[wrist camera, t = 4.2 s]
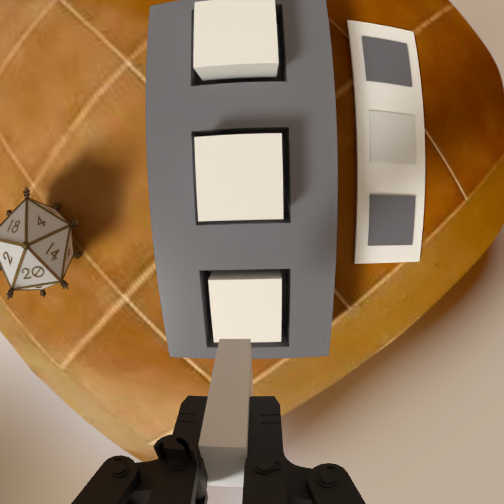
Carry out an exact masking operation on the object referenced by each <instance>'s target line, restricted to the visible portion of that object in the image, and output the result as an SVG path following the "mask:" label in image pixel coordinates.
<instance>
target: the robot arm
mask: <svg viewBox="0 0 504 504" xmlns="http://www.w3.org/2000/svg"><path fill="white" fill-rule="evenodd" d="M252 383H253V381H252V355H251V339H219V343H218V348H217V353H216V358H215V363H214V368H213V373H212V378H211V383H210V388H209V393H208V397H206V396H188V397H187V398H186V399H185V400H184V401H183V402H182V403H181V406H180V410H179V415H178V417H177V422H176V424H175V427H174V431H173V435H168V436H165V437H162V438H161V439H159V440H158V441H157V442H156V444H155V445H154V449H155V451H156V454H157V456H158V458H159V459H156V460H153V461H148V462H140V463H135V462H134V461H133V460H132V459H130V458H129V457H126V456H114V457H111V458H109V459H107V460H106V461H105V462H104V463H103V465H102V466H101V467H100V468H99V470H98V471H97V472H96V473H95V475H94V476H93V477H92V478H91V480H90V481H89V482H88V483H87V485H86V486H85V487H84V489H83V490H82V491H81V492H80V494H79V495H78V496H77V497H76V499H75V500H74V501H73V502H72V504H207V500H208V496H207V491H206V488H207V481H208V483H209V485H211V486H231V487H243V502H242V504H365V502H364V500H363V499H362V497H361V495H360V493H359V492H358V490H357V489H356V487H355V485H354V483H353V482H352V480H351V478H350V476H349V475H348V473H347V472H346V471H345V469H344V468H343V467H341V466H339V465H336V464H331V463H327V464H321V465H319V466H316V467H314V468H313V469H310V468H305V467H300V466H297V465H294V464H292V463H291V462H289V461H288V460H287V459H286V457H285V455H284V452H283V442H282V428H281V414H280V404H279V403H278V401H277V400H276V398H275V397H274V396H253V397H252Z"/></svg>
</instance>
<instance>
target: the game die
mask: <svg viewBox="0 0 504 504" xmlns="http://www.w3.org/2000/svg"><path fill="white" fill-rule="evenodd" d="M23 192H24V196H25V199H24V200H23V201H22V202H21V203H20V204H19V205H18V206H17V207H16V208H15V209H14V210H13V211H12V212H11V210H7V215H8V217H7V218H6V219H5V220H4V221H3V222H2V223H1V224H0V271H1V270H2V271H3V273H4V275H5V278H6V280H7V282H8V284H9V286H10V290H9V291H8V293H7V300H8V299H9V298H11V297H12V295H13V291H14V290H41V291H40V293H41V294H40V295H42V296H43V297H45V295H46V293H45V290H44V289H46V288H48V287H51V286H53V285H56V284H58V283H61V286H62V287H63V289H68V283H66V281H64V280H63V278H64V276H65V274H66V271H67V269H68V267H69V265H70V263H71V260H72V258H73V256H74V257H75V258H79V257H81V256H82V255H81V254H80V252H74V248H73V239H72V229H71V227H75V226H78V225H77V224H78V222H79V220H76V219H74V220H72V221H71V223H69V222H68V221H67V220H66V219H65V218H64V217H63V216H62V215H61V214H60V213H59V212H58V211H57V210H58V209H59V207H60V202H59V203H55V205H54V208H52V207H50V206H48V205H45V204H43V203H40V202H38V201H36V200H33V199H31V198H29V195H30V194H29V192H30V191H29V190H28V189H27V187H26V188H25V190H24V191H23Z"/></svg>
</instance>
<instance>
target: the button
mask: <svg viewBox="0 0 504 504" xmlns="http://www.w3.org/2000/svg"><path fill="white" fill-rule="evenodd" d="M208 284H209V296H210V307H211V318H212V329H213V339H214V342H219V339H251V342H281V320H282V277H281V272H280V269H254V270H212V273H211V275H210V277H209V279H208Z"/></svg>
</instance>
